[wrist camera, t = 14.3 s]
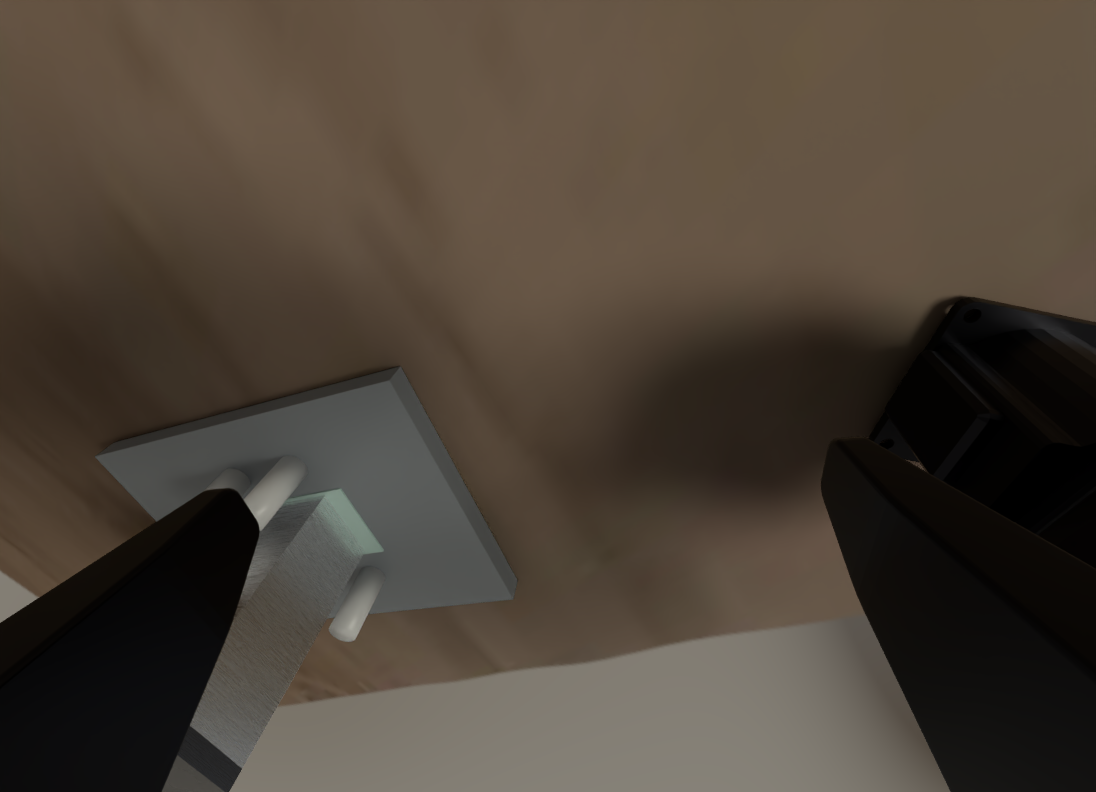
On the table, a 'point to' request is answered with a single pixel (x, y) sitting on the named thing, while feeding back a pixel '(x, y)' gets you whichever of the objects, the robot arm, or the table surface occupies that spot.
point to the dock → (338, 488)
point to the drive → (266, 639)
